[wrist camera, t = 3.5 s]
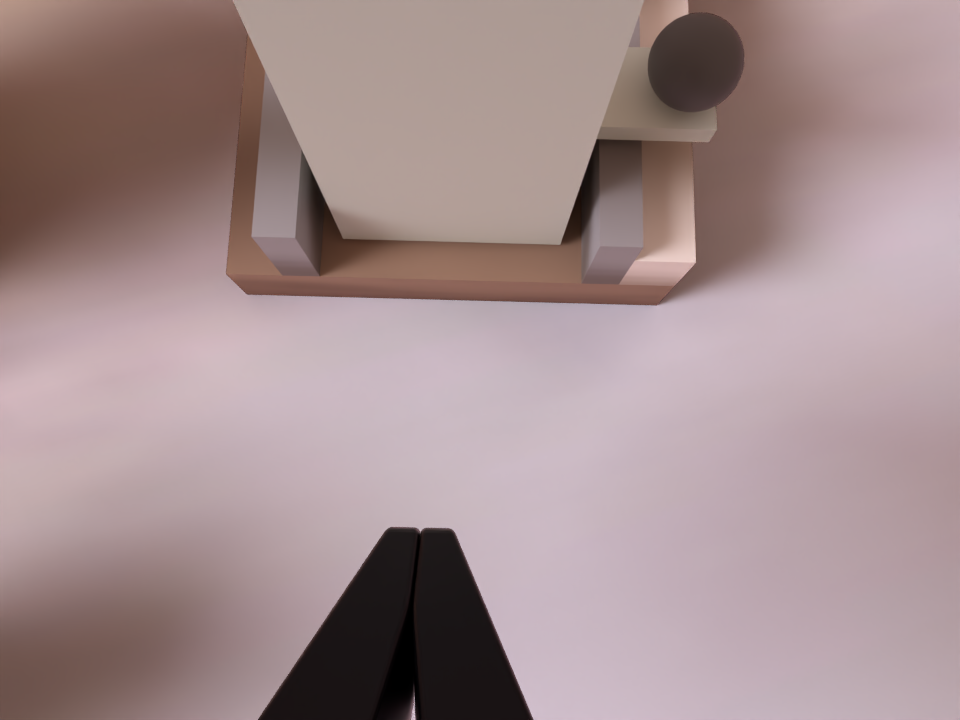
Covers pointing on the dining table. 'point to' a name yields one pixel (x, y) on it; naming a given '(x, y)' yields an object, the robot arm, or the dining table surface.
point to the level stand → (464, 265)
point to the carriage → (479, 104)
